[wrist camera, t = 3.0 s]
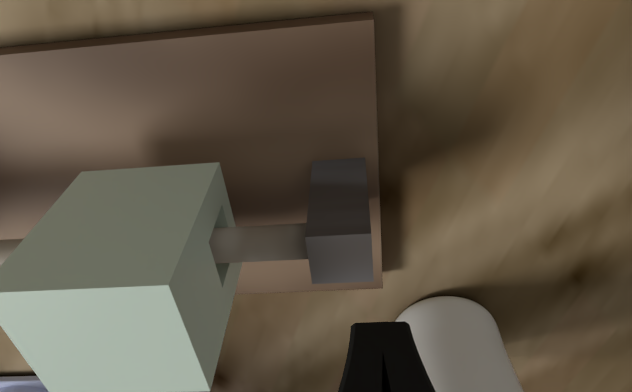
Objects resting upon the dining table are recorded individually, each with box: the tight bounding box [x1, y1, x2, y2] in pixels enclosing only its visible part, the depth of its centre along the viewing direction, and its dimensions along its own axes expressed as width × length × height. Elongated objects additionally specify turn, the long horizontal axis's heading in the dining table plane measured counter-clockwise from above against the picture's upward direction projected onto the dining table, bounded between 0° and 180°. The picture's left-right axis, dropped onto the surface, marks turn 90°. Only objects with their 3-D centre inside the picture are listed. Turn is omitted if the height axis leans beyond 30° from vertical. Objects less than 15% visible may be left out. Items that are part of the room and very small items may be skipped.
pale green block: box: [0, 162, 243, 392], centre depth 15 cm, size 4×5×6 cm
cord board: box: [0, 12, 383, 294], centre depth 18 cm, size 12×28×6 cm, turn 96°
